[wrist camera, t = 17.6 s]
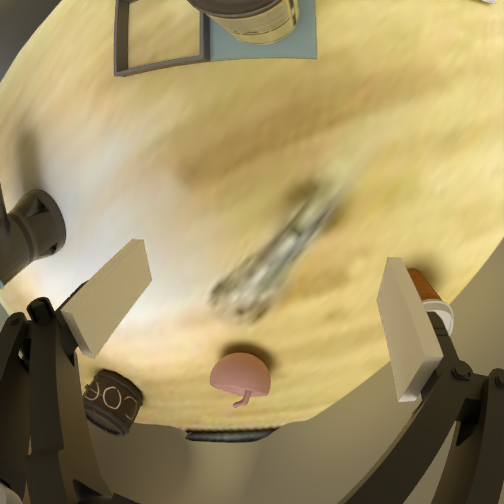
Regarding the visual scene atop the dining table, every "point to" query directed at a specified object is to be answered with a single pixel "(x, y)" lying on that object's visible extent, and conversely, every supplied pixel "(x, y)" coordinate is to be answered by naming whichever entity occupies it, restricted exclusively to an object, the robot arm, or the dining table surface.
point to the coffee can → (252, 18)
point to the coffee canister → (111, 403)
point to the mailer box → (221, 42)
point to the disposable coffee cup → (432, 299)
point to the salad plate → (490, 1)
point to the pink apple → (241, 376)
